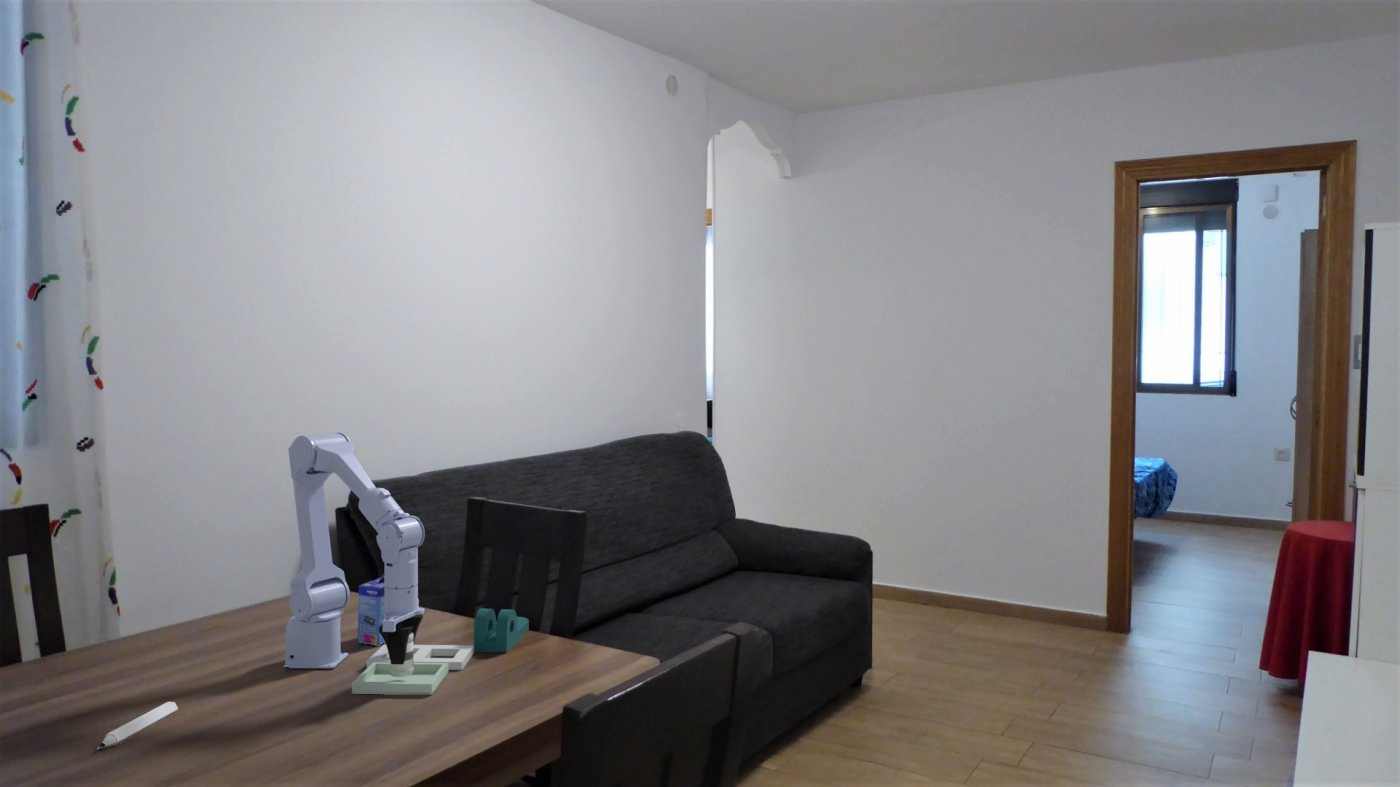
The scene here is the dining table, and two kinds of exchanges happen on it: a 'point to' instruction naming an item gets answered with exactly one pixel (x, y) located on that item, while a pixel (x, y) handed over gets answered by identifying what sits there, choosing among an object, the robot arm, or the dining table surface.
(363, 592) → the ink cartridge box
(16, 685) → the dining table surface
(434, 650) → the fuse holder
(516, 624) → the bracket
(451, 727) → the dining table surface
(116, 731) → the marker
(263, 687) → the dining table surface
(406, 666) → the cylinder
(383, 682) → the parts tray
